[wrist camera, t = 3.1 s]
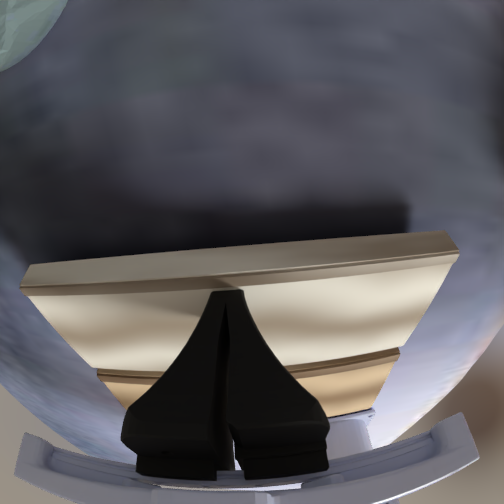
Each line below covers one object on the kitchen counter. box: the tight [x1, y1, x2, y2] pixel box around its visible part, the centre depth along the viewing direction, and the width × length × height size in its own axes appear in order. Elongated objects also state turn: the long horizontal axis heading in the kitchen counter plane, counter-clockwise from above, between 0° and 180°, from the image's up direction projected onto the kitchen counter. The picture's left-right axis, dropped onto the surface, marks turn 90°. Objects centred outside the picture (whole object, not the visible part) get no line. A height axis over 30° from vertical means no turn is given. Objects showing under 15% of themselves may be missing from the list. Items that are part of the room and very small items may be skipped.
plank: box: [19, 230, 460, 371], centre depth 15 cm, size 9×22×2 cm, turn 93°
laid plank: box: [97, 347, 400, 417], centre depth 21 cm, size 9×22×2 cm, turn 94°
